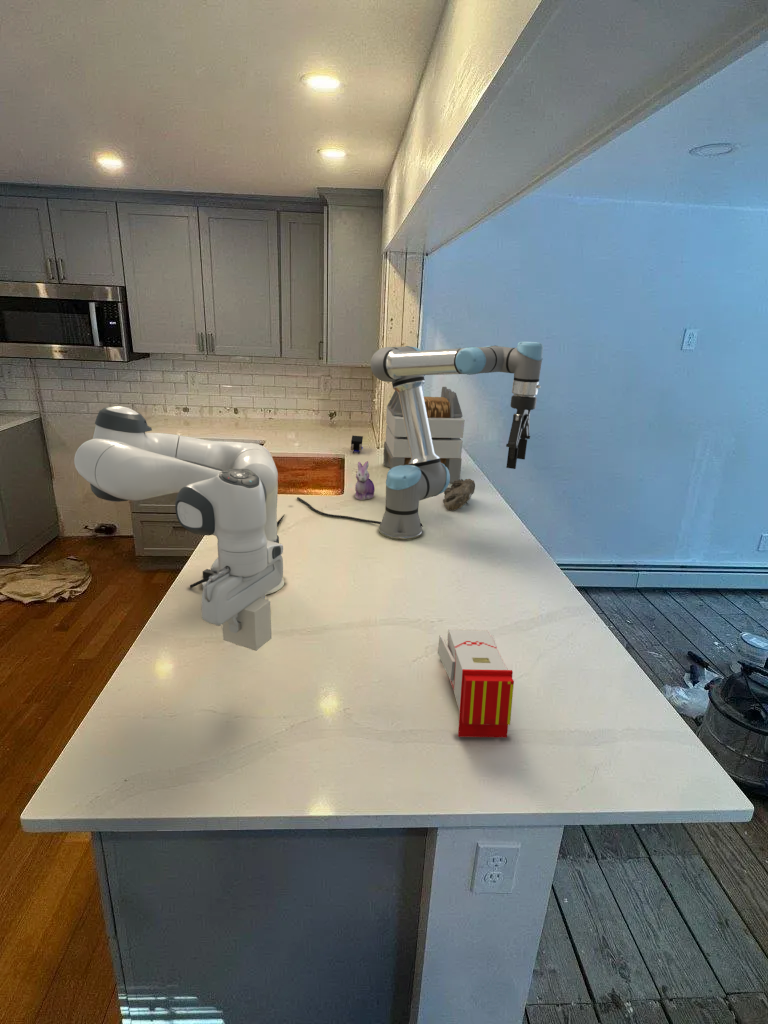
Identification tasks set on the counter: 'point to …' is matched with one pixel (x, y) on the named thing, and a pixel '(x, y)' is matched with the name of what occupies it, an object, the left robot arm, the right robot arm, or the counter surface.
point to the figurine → (363, 483)
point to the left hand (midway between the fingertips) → (246, 622)
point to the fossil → (458, 494)
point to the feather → (279, 521)
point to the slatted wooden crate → (442, 427)
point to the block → (251, 626)
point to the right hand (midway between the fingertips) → (515, 463)
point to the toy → (478, 682)
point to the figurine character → (356, 443)
